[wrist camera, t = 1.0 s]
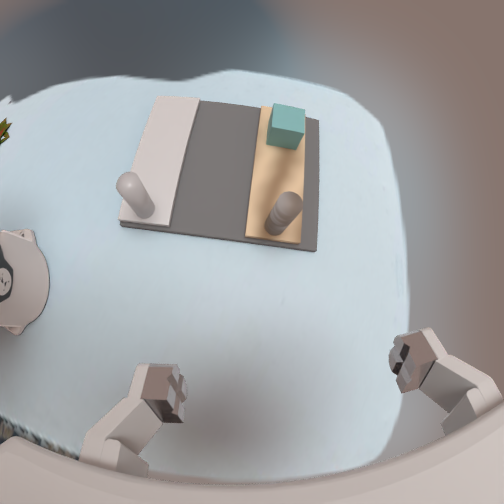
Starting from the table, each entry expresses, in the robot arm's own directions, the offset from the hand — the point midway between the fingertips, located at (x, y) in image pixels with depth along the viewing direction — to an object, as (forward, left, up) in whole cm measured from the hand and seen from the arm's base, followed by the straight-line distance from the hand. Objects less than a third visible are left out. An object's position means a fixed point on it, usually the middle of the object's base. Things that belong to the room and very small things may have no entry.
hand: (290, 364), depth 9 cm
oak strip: (+4, +24, -29) cm, 38 cm away
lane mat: (-4, +24, -30) cm, 39 cm away
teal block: (+4, +30, -28) cm, 41 cm away
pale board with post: (-15, +24, -29) cm, 41 cm away
